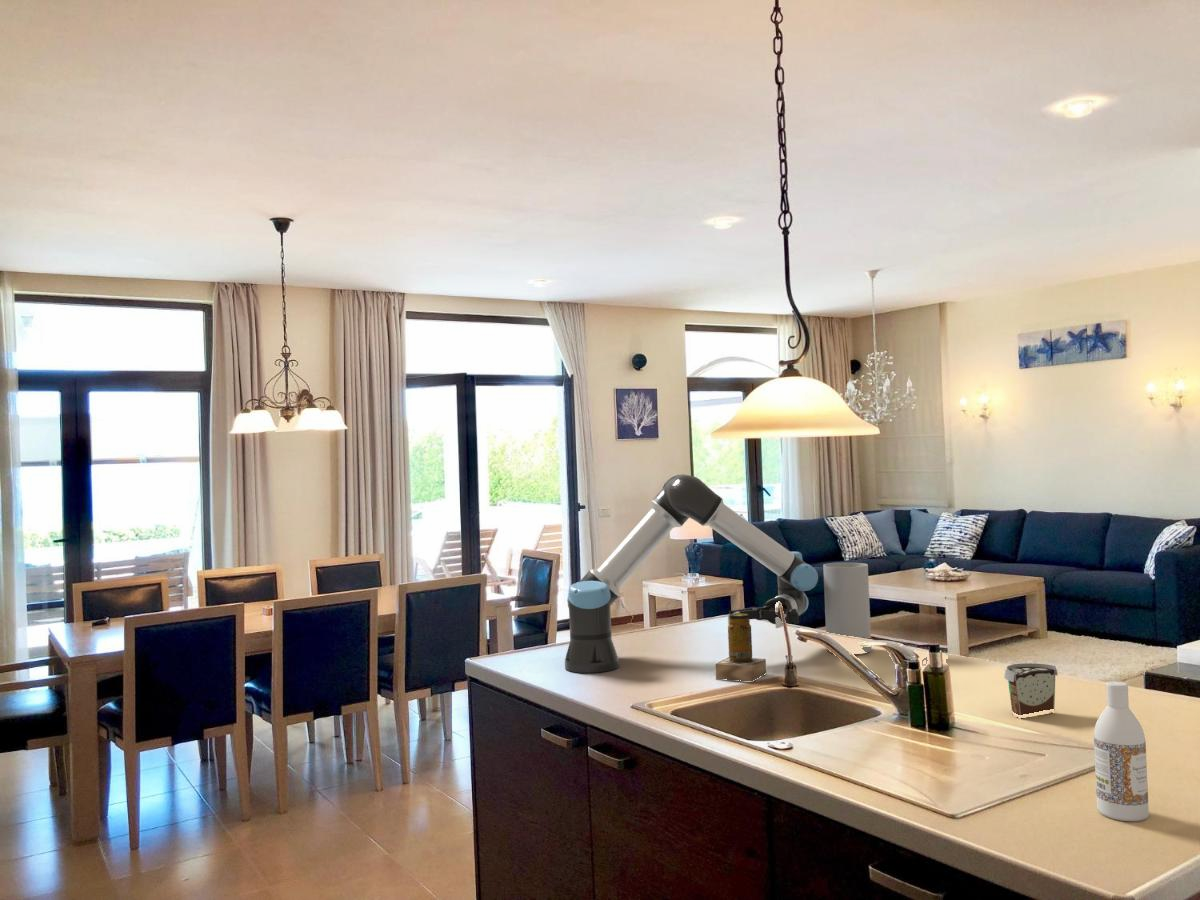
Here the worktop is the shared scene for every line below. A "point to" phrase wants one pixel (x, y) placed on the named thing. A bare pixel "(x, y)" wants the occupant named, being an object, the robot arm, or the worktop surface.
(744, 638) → the condiment
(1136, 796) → the bath foam
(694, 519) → the robot arm
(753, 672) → the plinth
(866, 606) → the cylinder vase
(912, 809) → the worktop surface
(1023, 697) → the food container
